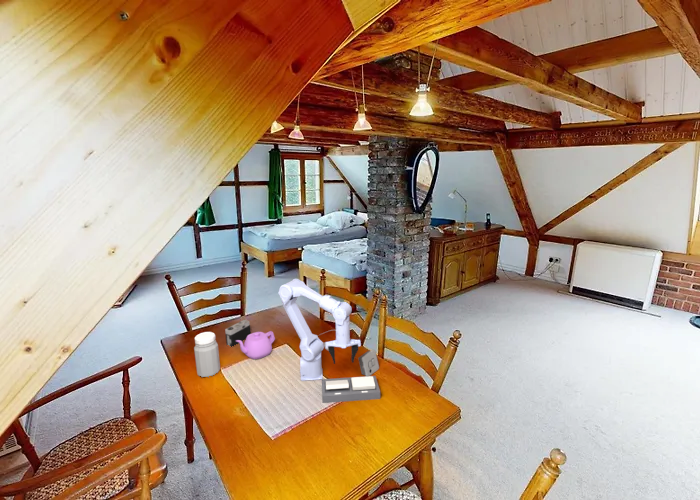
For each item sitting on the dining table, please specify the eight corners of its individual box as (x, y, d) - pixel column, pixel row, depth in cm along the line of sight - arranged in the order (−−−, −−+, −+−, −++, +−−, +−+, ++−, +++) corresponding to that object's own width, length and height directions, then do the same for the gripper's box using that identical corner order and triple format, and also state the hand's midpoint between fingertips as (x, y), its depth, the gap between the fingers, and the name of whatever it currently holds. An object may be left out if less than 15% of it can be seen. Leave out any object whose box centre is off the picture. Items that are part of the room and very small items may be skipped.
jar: (224, 372, 153) (220, 335, 149) (203, 381, 146) (198, 344, 142) (214, 363, 159) (210, 328, 155) (193, 372, 152) (188, 336, 148)
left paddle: (326, 389, 134) (325, 385, 135) (325, 385, 140) (325, 381, 140) (348, 387, 135) (348, 383, 136) (347, 383, 141) (347, 379, 141)
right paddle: (352, 390, 136) (352, 387, 135) (351, 380, 141) (351, 377, 140) (375, 388, 137) (375, 385, 136) (372, 379, 142) (372, 376, 141)
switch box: (322, 402, 132) (322, 396, 132) (321, 385, 143) (321, 379, 142) (380, 398, 135) (380, 392, 134) (375, 382, 145) (375, 375, 145)
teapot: (231, 355, 166) (230, 334, 164) (268, 342, 179) (267, 322, 177) (243, 367, 157) (241, 345, 154) (281, 351, 170) (280, 331, 167)
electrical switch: (367, 378, 148) (366, 358, 146) (358, 375, 151) (356, 355, 150) (379, 368, 155) (378, 350, 154) (370, 366, 158) (369, 347, 157)
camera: (242, 332, 189) (241, 316, 187) (253, 337, 184) (252, 321, 182) (220, 342, 179) (219, 325, 176) (230, 348, 173) (229, 331, 171)
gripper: (325, 338, 134) (326, 368, 137) (361, 335, 136) (361, 365, 139) (324, 329, 141) (325, 359, 144) (359, 327, 143) (359, 356, 146)
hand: (343, 361), depth 142 cm, fingers open, 7 cm apart
